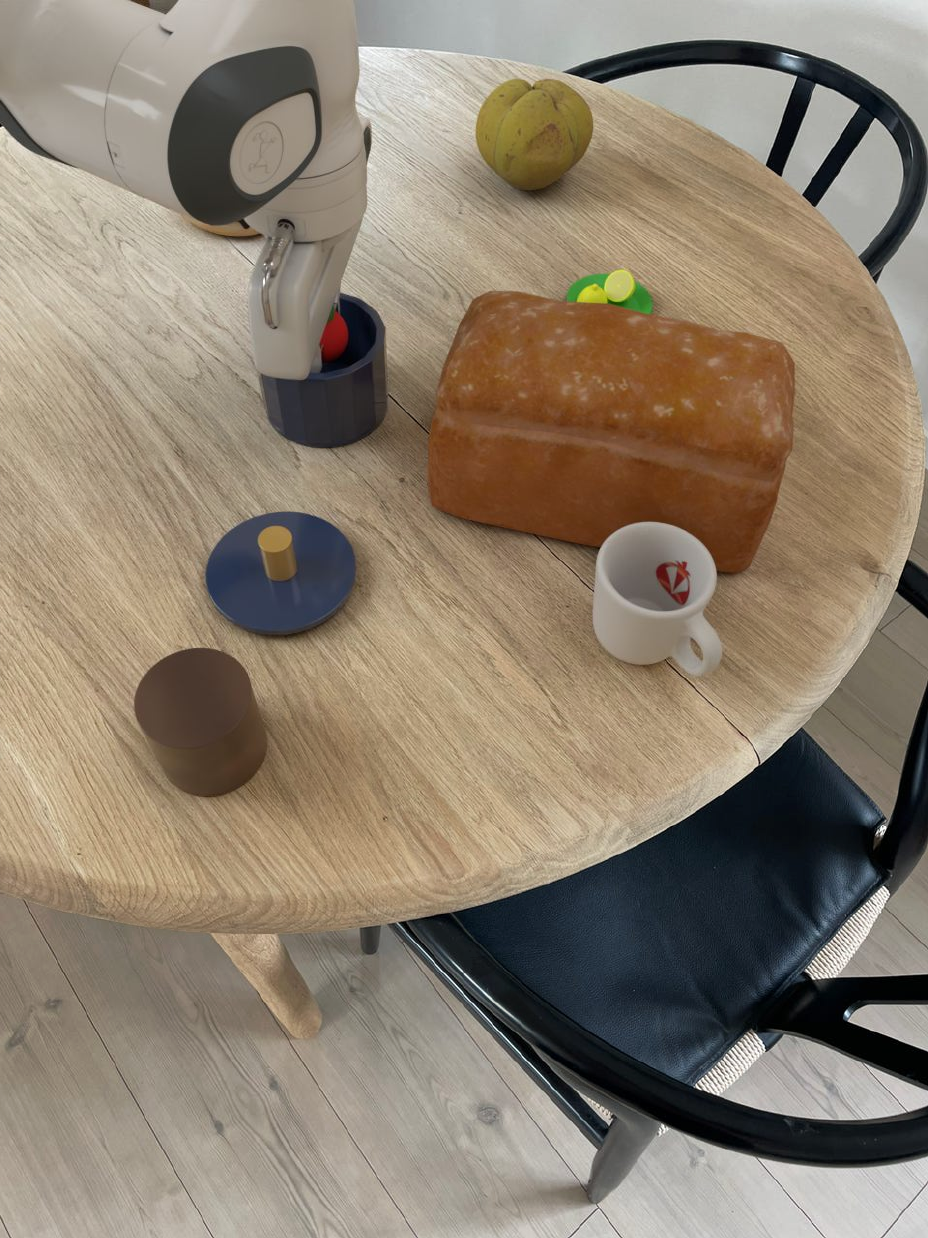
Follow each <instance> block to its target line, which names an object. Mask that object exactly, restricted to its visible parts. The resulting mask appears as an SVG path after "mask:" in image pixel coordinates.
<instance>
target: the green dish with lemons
mask: <svg viewBox="0 0 928 1238" xmlns="http://www.w3.org/2000/svg"><path fill="white" fill-rule="evenodd" d="M566 301H572V302H586V303H607V304H612V305H616V306H620V307H623V308H627V309H631V310H635V311H639V312H642V313H646V314H650V315H651V313H652V310H653V300H652V296H651V295H650V293H649V292H648V290H647V289H646V288H645V287H644V286H643V285H642V284H640V283H639V282H637V281H636V280H635V278H634V277H633V275H632V274H631V273H630V272H629V271H627V270H626V269H617V270H615V271H613V272H611V273H595V274H590V275H586V276H583V277H581V278H580V279H578V280H576V281H575V282H574V283H573V284H572V285H571V286H570V287H569V289H568V291H567V293H566Z"/></svg>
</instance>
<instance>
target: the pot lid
mask: <svg viewBox="0 0 928 1238" xmlns="http://www.w3.org/2000/svg"><path fill="white" fill-rule="evenodd" d="M204 575H205V577H204V578H205V585H206V590H207V593H208V596H209V598H210V602H211V603H212V604H213V606H214V608H215V609H216V610H217V612H218V613H219V614H220V615H221V616H222V617H223V618H224V619H225V620H226V621H228V622H230V623H231V624H233V625H234V626H236V627H237V628H240V629H242V630H245V631H248V632H251V633H253V634H254V633H255V634H260V635H266V636H285V635H292V634H297V633H301V632H304V631H307V630H310V629H313V628H314V627H316V626H320V625H321V624H323V623H325V622H326V621H328V620H329V619H330V618H332V617H333V616H334V615H335V614H336V613H338V612H339V611H340V610H341V608H343V606H344V605H345V603H346V602H347V601H348V600H349V598H350V596H351V594H352V592H353V589H354V587H355V583H356V579H357V560H356V555H355V552H354V549H353V547H352V544H351V543H350V541H349V539H348V538H347V537H346V535H345V534H344V533H343V532H342V531H341V530H340V529H339V528H338V527H336V526H335V525H334V524H332V523H330V522H329V521H327V520H325V519H323V518H321V517H320V516H316V515H313V514H310V513H305V512H301V511H275V512H268V513H264V514H260V515H256V516H254V517H251V518H249V519H246V520H244V521H242V522H241V523H239V524H237V525H235V526H234V527H232V528H231V529H230V530H229V531H227V532H226V533H225V534H224V535H223V536H221V538H220V539H219V540H218V542H217V543H216V544H215V546H214V547H213V549H212V551H211V553H210V555H209V557H208V559H207V562H206V567H205V574H204Z"/></svg>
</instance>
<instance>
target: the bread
mask: <svg viewBox="0 0 928 1238" xmlns="http://www.w3.org/2000/svg"><path fill="white" fill-rule="evenodd" d="M795 368H796V366H795V361H794V359H793V358H792V356H791V354H790V352H789V351H788V349H787V347H786V346H785V344H784V343H783V342H781V341H778V340H774V339H771V338H768V337H767V338H766V337H764V336H763V337H762V336H759V335H755V334H752V333H749V332H746V331H745V332H744V331H734V330H722V329H721V330H720V329H716V328H713V327H709V326H706V325H704V324H699V323H697V322H693V321H689V320H686V319H681V318H676V317H675V318H674V317H669V316H663V315H655V314H651V313H650V314H646V313H642V312H639V311H635V310H631V309H627V308H623V307H620V306H616V305H612V304H607V303H586V302H572V301H567V300H558V299H552V298H548V297H544V296H540V295H535V294H531V293H528V292H524V291H518V290H489V291H487V292H485V293H483V294H481V295H479V296H477V297H474V298H473V299H472V300H471V302H470V304H469V305H468V308H467V310H466V312H465V313H464V315H463V317H462V319H461V321H460V323H459V325H458V327H457V330H456V333H455V335H454V338H453V340H452V343H451V346H450V349H449V350H448V353H447V356H446V358H445V360H444V363H443V366H442V369H441V373H440V377H439V379H438V383H437V388H436V391H435V403H436V404H435V409H434V412H433V417H432V421H431V424H430V429H429V432H428V438H427V479H426V481H427V482H426V484H427V489H428V495H429V501H430V505H431V507H433V508H434V509H436V510H438V511H441V512H444V513H446V514H449V515H451V516H454V517H456V518H461V519H465V520H468V521H474V522H477V523H481V524H484V525H485V524H486V525H492V526H495V527H499V528H504V529H509V530H514V531H518V532H523V533H528V534H533V535H538V536H542V537H547V538H551V539H556V540H561V541H566V542H570V543H575V544H580V545H585V546H589V547H590V546H591V547H595V548H596V547H598V548H601V547H602V545H603V543H604V542H605V541H606V539H607V538H608V537H609V536H610V535H612V534H613V533H614V532H616V531H617V530H619V529H621V528H622V527H625V526H628V525H631V524H634V523H640V522H659V523H665V524H669V525H673V526H676V527H678V528H680V529H683V530H685V531H686V532H688V533H690V534H691V535H693V536H694V537H696V538H697V539H698V540H699V541H700V542H701V543H702V544H703V545H704V546H705V547H706V548H707V550H708V551H709V553H710V554H711V556H712V558H713V560H714V563H715V567H716V572H723V573H731V574H738V573H740V572H742V571H744V570H746V569H748V568H750V566H751V564H752V562H753V561H754V558H755V556H756V553H757V551H758V550H759V547H760V545H761V543H762V541H763V539H764V536H765V534H766V531H767V529H768V527H769V525H770V523H771V521H772V518H773V515H774V511H775V508H776V504H777V502H778V498H779V492H780V489H781V485H782V479H783V477H784V474H785V470H786V465H787V464H786V463H787V460H788V458H789V456H790V454H791V452H792V450H793V445H794V418H793V411H794V402H795V396H796V395H795V394H796V373H795V372H796V371H795V370H796V369H795Z"/></svg>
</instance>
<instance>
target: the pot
mask: <svg viewBox="0 0 928 1238" xmlns="http://www.w3.org/2000/svg"><path fill="white" fill-rule="evenodd" d="M339 303H340V315H341V317H342V318H343V319H344V321H345V323H346V326H347V329H348V342H347V345H346V348H345V350H344V351H343V353H342V354H341V355H340V356H339V357H338V358H337V359H335V360H333V361H331V362H328V363H323V366H322V368H321V371H320V372H319V373H309V375H308V377H307V378H306V379H304V380H290V379H281V378H274V377H269V376H265V375H263V374H262V373H260V372H259V371H258V370H257V369H256V373H257V379H258V384H259V389H260V395H261V401H262V405H263V408H264V411H265V415H266V418H267V419H268V422H269V423H270V425H271V426H272V428H273V429H274V430H275V431H276V432H277V433H278V434H279V435H281V436H282V437H283V438H285V439H287V440H288V441H291V442H293V443H295V444H298V445H301V446H304V447H311V448H317V449H329V448H330V449H331V448H337V447H343V446H347V445H350V444H353V443H356V442H358V441H361V440H362V439H364V438H366V437H367V436H370V434H371V433H373V432H374V431H375V430H376V429H377V428H378V427H379V426H380V425H381V424H382V423H383V420H384V419H385V417H386V414H387V412H388V407H389V375H388V373H389V372H388V353H387V350H388V349H387V332H386V331H387V328H386V326H385V323H384V322H383V320H382V318H381V315H380V313H379V312H378V311H377V309H375V308H374V307H372V306H371V305H369V304H368V303H367V302H366V301H364V300H363V299H361V298H360V297H356V296H353V295H350V294H348V293H344V292H341V291H340V297H339Z"/></svg>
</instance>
